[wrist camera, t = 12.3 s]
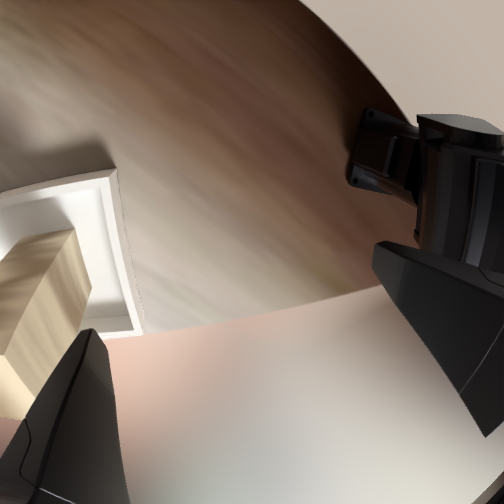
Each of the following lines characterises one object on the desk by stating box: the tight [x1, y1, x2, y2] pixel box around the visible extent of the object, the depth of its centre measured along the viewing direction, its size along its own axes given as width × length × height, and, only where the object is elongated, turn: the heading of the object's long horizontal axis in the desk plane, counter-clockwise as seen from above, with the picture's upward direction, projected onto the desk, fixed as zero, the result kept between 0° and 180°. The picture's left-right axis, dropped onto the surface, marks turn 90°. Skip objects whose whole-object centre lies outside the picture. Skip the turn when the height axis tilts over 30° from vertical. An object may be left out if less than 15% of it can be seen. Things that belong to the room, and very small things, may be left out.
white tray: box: [0, 168, 145, 338], centre depth 18 cm, size 12×12×2 cm
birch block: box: [0, 228, 92, 420], centre depth 13 cm, size 5×5×12 cm
